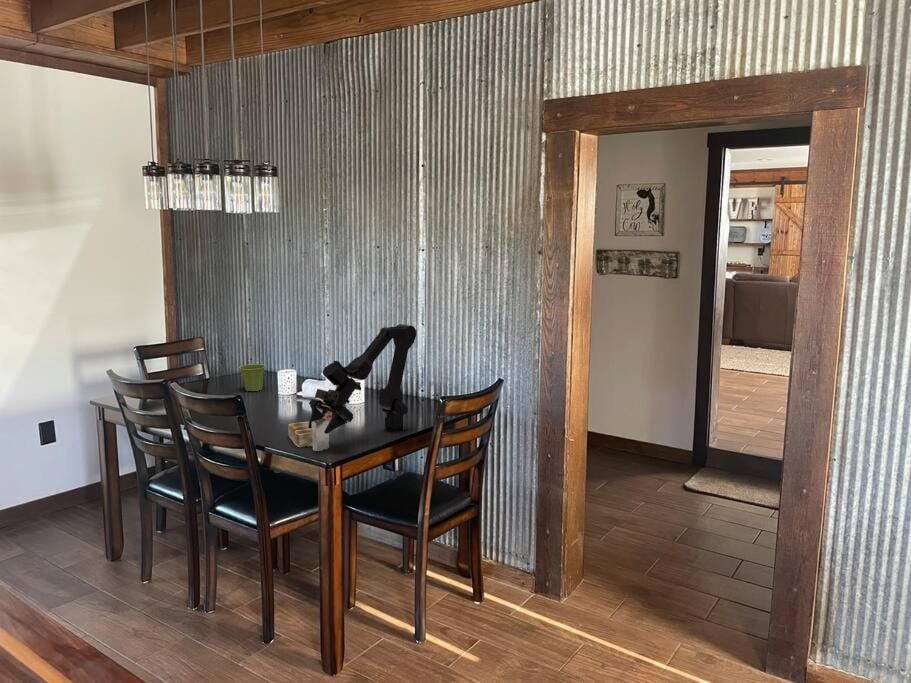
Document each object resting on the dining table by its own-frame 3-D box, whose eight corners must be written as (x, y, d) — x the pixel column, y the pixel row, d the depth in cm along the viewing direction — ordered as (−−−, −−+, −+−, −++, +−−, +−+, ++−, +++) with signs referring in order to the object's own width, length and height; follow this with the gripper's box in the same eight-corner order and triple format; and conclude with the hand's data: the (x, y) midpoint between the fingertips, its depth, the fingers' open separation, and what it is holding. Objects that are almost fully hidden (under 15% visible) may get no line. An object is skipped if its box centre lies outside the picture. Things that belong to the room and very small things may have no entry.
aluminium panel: (324, 446, 249) (323, 418, 247) (329, 448, 247) (328, 420, 245) (312, 450, 245) (311, 421, 244) (317, 451, 244) (315, 422, 242)
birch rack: (308, 433, 264) (308, 419, 264) (318, 445, 251) (317, 430, 250) (288, 436, 262) (287, 421, 261) (297, 447, 248) (296, 432, 247)
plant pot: (240, 388, 337) (238, 365, 335) (266, 386, 341) (265, 363, 339) (240, 394, 326) (239, 369, 324) (267, 392, 330) (266, 368, 328)
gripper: (312, 375, 252) (286, 412, 246) (345, 383, 239) (318, 422, 233) (331, 394, 259) (306, 430, 252) (364, 402, 246) (339, 441, 240)
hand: (317, 430), depth 244 cm, fingers open, 9 cm apart
